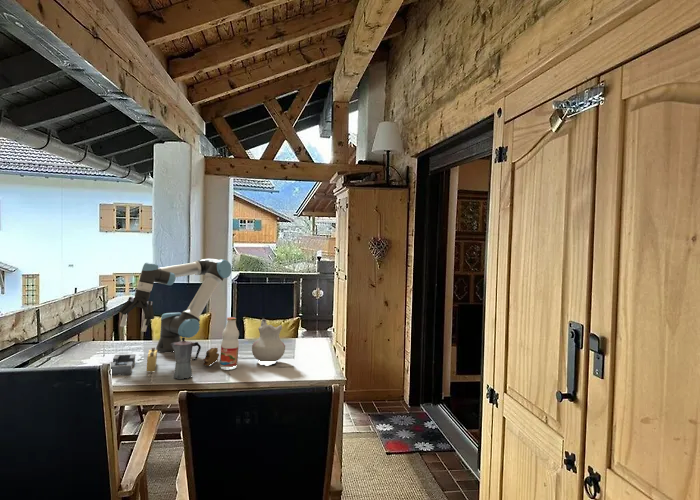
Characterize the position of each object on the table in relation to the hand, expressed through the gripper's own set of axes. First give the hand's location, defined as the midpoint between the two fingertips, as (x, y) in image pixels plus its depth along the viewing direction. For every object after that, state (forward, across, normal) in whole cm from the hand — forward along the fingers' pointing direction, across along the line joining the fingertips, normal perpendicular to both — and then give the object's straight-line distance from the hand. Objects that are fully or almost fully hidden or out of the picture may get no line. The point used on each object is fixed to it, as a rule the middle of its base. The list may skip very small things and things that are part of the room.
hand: (132, 329), depth 237 cm
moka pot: (+17, +39, -4) cm, 43 cm away
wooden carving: (+12, +40, +19) cm, 46 cm away
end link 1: (+19, 0, +1) cm, 19 cm away
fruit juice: (+11, +51, +19) cm, 56 cm away
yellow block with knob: (+18, +15, +3) cm, 24 cm away
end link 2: (+21, +7, -10) cm, 24 cm away
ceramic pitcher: (+6, +65, +38) cm, 76 cm away
